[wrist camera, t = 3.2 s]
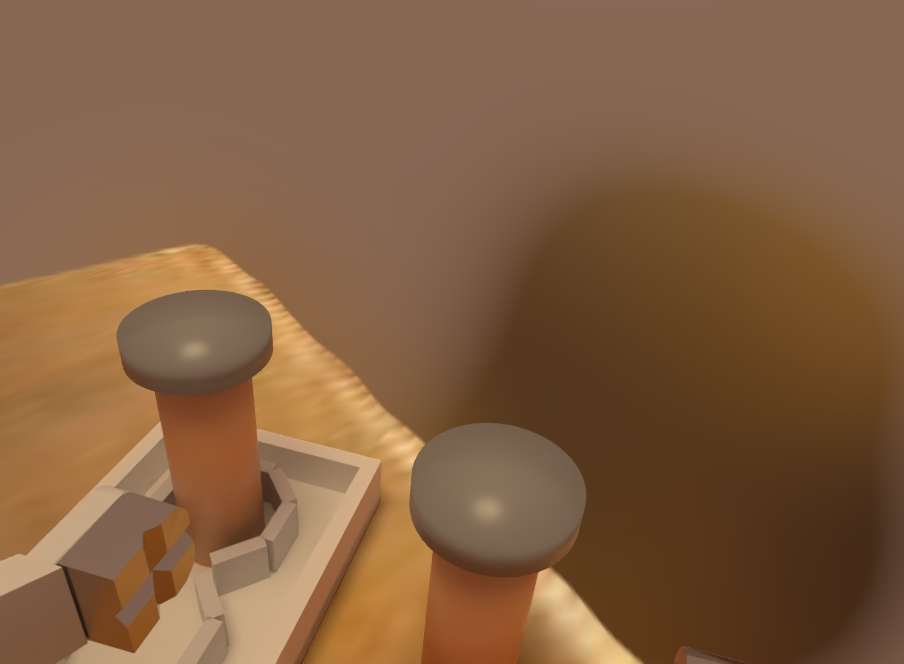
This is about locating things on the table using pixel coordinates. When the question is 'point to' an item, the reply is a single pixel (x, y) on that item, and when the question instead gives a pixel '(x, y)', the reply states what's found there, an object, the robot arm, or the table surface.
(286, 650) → the housing
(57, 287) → the table surface
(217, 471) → the grey capped peg
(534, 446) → the brown pin with head
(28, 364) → the table surface
